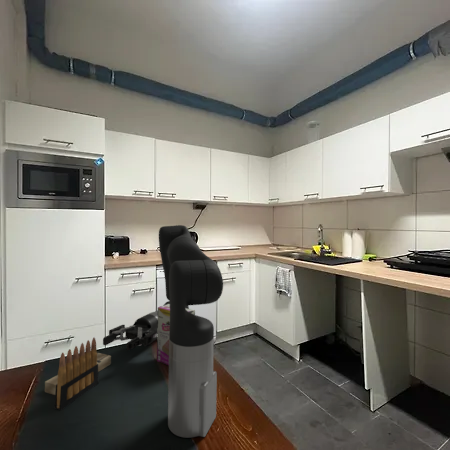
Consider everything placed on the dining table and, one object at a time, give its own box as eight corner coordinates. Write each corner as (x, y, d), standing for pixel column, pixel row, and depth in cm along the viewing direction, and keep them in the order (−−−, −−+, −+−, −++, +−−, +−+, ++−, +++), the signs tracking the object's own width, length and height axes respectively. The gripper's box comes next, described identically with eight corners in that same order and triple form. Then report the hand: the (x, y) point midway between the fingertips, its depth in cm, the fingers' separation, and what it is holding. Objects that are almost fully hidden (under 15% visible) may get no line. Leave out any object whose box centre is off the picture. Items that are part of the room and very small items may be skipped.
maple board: (110, 363, 76) (111, 355, 76) (59, 396, 61) (59, 385, 61) (97, 360, 77) (97, 352, 77) (44, 391, 62) (45, 381, 62)
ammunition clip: (60, 410, 56) (61, 355, 56) (54, 408, 57) (55, 353, 57) (98, 383, 66) (99, 336, 66) (92, 381, 67) (94, 335, 67)
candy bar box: (155, 361, 77) (156, 307, 78) (167, 355, 81) (168, 303, 82) (183, 373, 71) (184, 313, 72) (195, 365, 75) (195, 309, 76)
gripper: (133, 311, 90) (96, 327, 75) (168, 316, 85) (136, 334, 70) (133, 333, 90) (95, 353, 75) (168, 339, 85) (135, 362, 70)
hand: (115, 344), depth 73 cm, fingers open, 8 cm apart
